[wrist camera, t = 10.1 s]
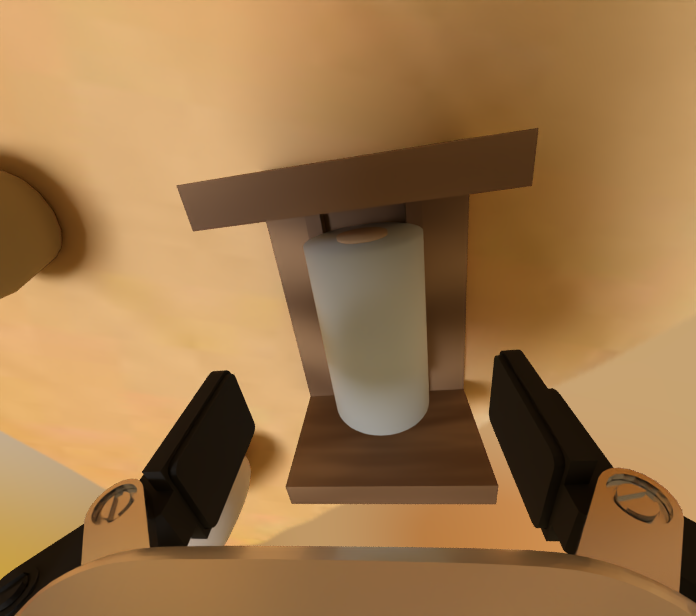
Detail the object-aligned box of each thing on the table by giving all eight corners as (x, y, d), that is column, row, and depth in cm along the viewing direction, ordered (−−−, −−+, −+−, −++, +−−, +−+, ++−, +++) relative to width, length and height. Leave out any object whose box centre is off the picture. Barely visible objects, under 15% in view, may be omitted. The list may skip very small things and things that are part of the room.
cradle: (260, 171, 17) (176, 185, 10) (465, 138, 16) (538, 128, 8) (316, 401, 25) (291, 503, 17) (459, 395, 23) (496, 504, 16)
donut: (223, 490, 31) (161, 625, 22) (193, 475, 30) (116, 608, 22) (273, 440, 27) (222, 580, 18) (239, 421, 26) (169, 557, 17)
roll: (315, 227, 17) (288, 258, 12) (416, 214, 16) (431, 242, 12) (342, 373, 22) (331, 438, 17) (423, 369, 21) (436, 436, 16)
